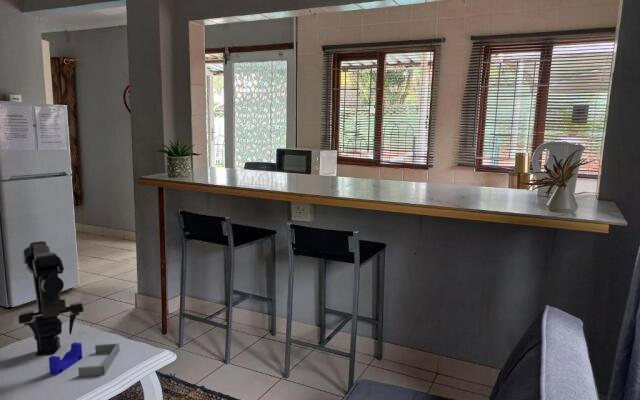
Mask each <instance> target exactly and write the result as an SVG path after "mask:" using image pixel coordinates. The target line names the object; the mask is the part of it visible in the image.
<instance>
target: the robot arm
mask: <svg viewBox="0 0 640 400" xmlns="http://www.w3.org/2000/svg"><path fill="white" fill-rule="evenodd" d="M22 252H23V254H22V258H23V259H22V260H23V264H24V265H26V269H27V271H29V273H30V274H32V279H33V286H34V292H35V293H34V294H35V298H36V299H35V301H36V306H37V307H36V308H37V312H34V310H28V311H23V312H20V314H19V315H18V324H19V325H20V324H21V325H22V324H23V325H24V326H29V328H30V329H31V331H32V337H33V339H34V340H35V341H36V349H37V350H36V351H37V352H36V353H35V354H34V355H35V356H44V355H54V354H56V352H58V350H59V349H60V348H61V347H62V346H61V342H60V337H59V335H62V334H61V333H62V332H63V330H62V329H63V328H62V327H63V321H62V320H61V319H60V318H58V317H59V316H60V314H64V313H69V322H68V323H69V327H68V330H69V331H68V332H69V335H72V331H73V327H74V323H75V320H76V317H78V316H80V314H81V313H83V312H85V311H84V304H83V302H81V301H78V302H73V303H70V304H69V306H66V305H67V303H66V299H65V298H63V299H61V292H62V290H63V289H64V285H65V283H64V281H63V279H62V278H60V277H59V275H60V274H63V273H64V271H65V269H64V264H63V262H62V261H63V260H62V259H61V257H60V256H58V255H57V254H56V253H55V252H51V250H50V247H49V246H48V245H47V242H46V241H43V240H42V241H33V242H30V243H29V246H27V248H25V249H23V251H22Z"/></svg>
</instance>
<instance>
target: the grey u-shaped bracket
mask: <svg viewBox="0 0 640 400" xmlns="http://www.w3.org/2000/svg"><path fill="white" fill-rule="evenodd" d="M94 346H95V348H94V350H95V354H104V353H109V355H108V356H107V357H106V359H105V361H104V362H103V364H102V365H89V366H87V365H85V366H78V367H77V370H78V377H79V378H80V377H89V376H90V377H92V376H106V374H107V372H108V370H109V368H110V367H111V365H112V364H113V363H114V361H115V359H116V358H117V356H118V354H119V353H120V352H121V351H120V343H119V342H117V343H104V344H103V343H99V344H95V345H94Z"/></svg>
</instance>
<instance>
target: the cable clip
mask: <svg viewBox="0 0 640 400" xmlns="http://www.w3.org/2000/svg"><path fill="white" fill-rule="evenodd" d="M82 359H83V348H82V342H75V341H74V342H72V343H71V344H70V349H69V351H67V352H65V354H64V355H63V357H62V358H61V357H60V356H59V355H58V356H57V355H55V356H54V355H51V356H49V357H48V365H49V366H48V367H49V374H50V375H56V376H58V375H60V374H61V373H63V372H64V371H66V370H67V369H69V368H70V367H72V366H74V365H75V364H76V363H78V362H79V361H81V360H82Z"/></svg>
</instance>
